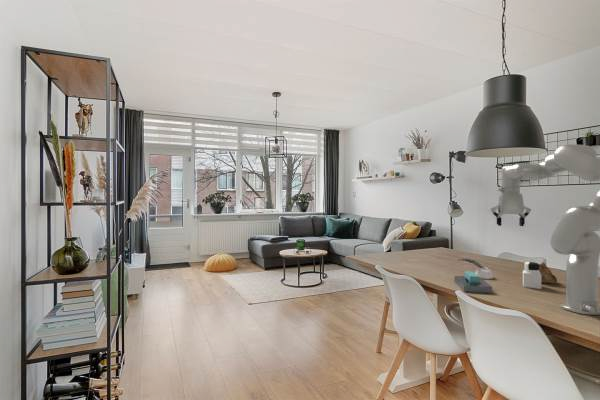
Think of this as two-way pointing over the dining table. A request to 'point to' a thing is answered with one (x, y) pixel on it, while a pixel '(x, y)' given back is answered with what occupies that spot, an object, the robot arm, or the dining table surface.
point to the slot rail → (473, 285)
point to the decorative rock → (546, 274)
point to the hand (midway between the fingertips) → (510, 225)
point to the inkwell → (480, 269)
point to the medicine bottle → (532, 275)
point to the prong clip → (471, 277)
